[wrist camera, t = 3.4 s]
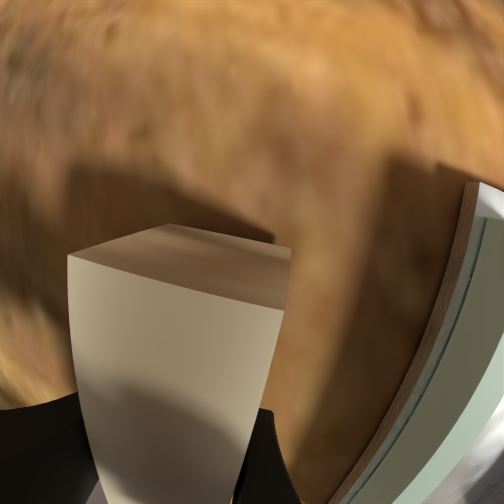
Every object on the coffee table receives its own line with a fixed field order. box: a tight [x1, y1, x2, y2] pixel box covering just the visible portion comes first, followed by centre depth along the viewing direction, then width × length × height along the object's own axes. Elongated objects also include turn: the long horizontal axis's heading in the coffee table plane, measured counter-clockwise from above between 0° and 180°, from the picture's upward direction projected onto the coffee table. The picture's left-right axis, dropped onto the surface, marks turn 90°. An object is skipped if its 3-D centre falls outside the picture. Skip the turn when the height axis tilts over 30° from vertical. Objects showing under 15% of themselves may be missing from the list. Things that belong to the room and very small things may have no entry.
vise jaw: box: [349, 217, 504, 504], centre depth 8 cm, size 2×17×2 cm, turn 170°
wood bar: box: [68, 223, 292, 504], centre depth 9 cm, size 4×12×5 cm, turn 170°
